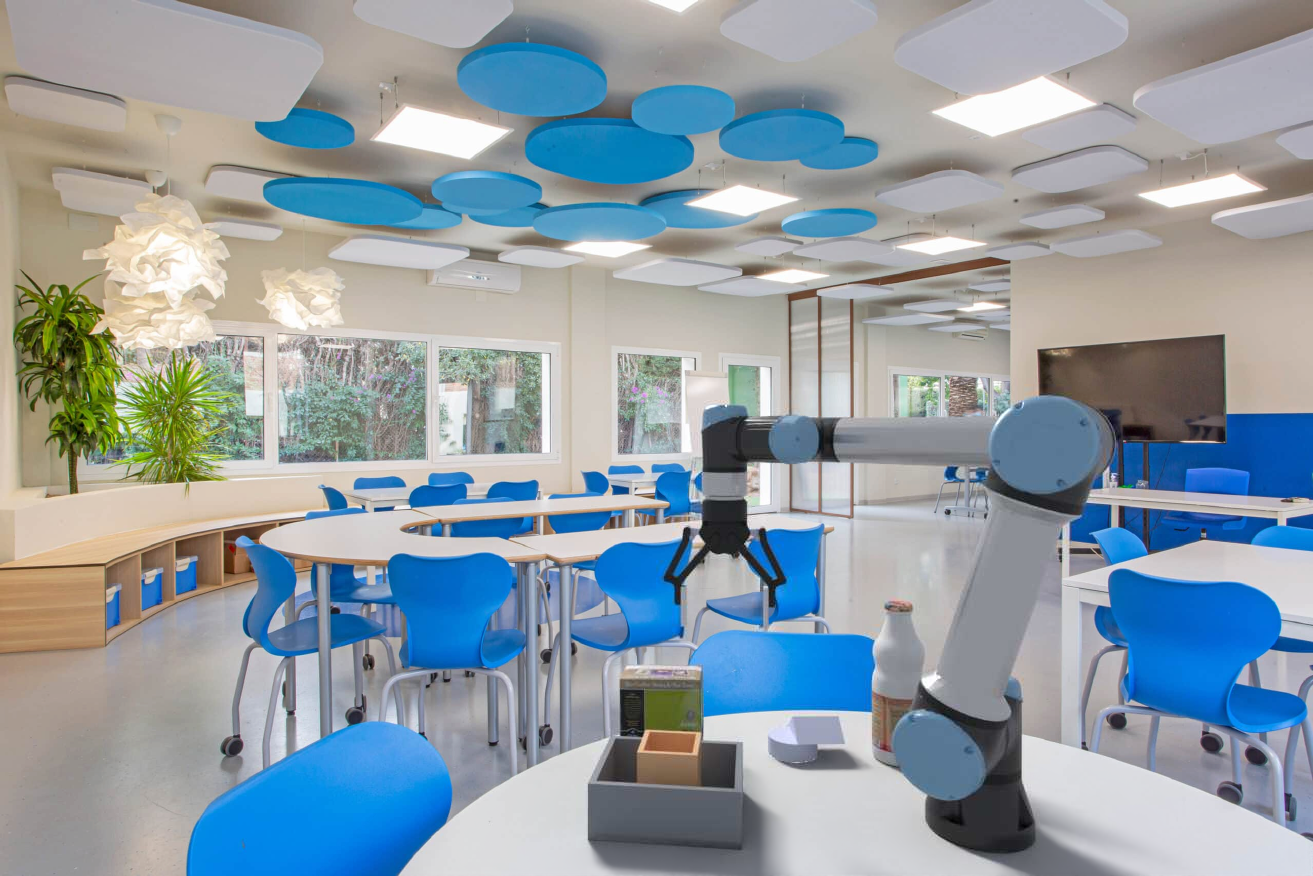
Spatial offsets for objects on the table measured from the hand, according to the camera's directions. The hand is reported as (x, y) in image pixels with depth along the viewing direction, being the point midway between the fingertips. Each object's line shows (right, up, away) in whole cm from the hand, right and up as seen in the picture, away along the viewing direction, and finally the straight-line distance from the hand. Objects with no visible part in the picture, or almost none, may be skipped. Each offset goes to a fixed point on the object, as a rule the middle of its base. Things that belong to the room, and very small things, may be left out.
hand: (724, 626), depth 125 cm
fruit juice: (+33, -27, +12) cm, 44 cm away
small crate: (-9, -26, -9) cm, 29 cm away
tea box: (-10, -27, +15) cm, 33 cm away
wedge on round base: (+16, -27, +14) cm, 34 cm away
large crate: (-9, -27, -9) cm, 30 cm away
